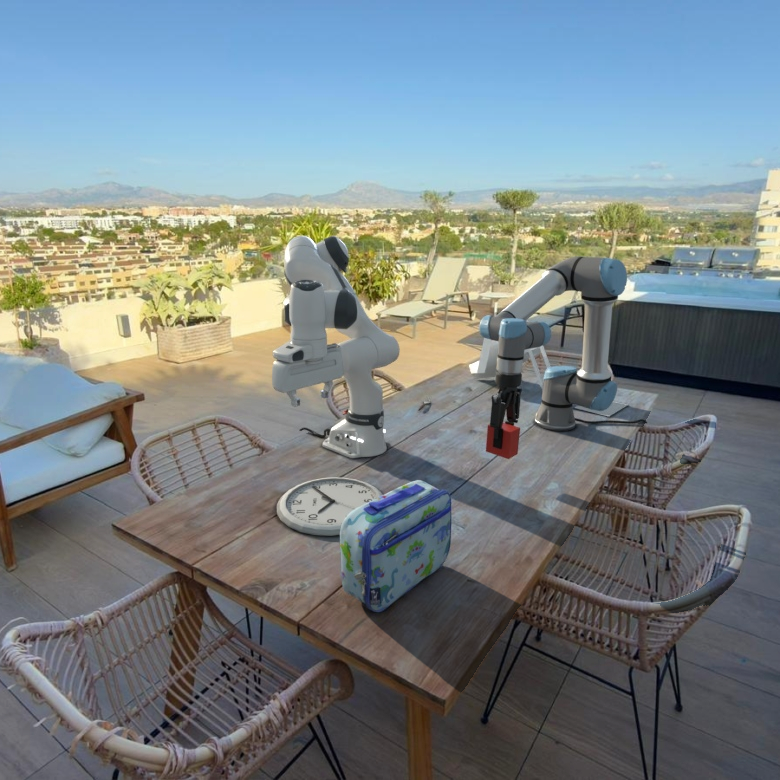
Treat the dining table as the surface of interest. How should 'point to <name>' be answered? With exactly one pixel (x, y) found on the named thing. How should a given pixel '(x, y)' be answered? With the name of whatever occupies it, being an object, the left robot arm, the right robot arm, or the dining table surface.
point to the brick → (504, 441)
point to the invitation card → (609, 411)
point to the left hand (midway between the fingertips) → (310, 401)
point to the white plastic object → (490, 354)
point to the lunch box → (394, 543)
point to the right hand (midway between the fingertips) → (502, 444)
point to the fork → (425, 403)
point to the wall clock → (323, 504)
